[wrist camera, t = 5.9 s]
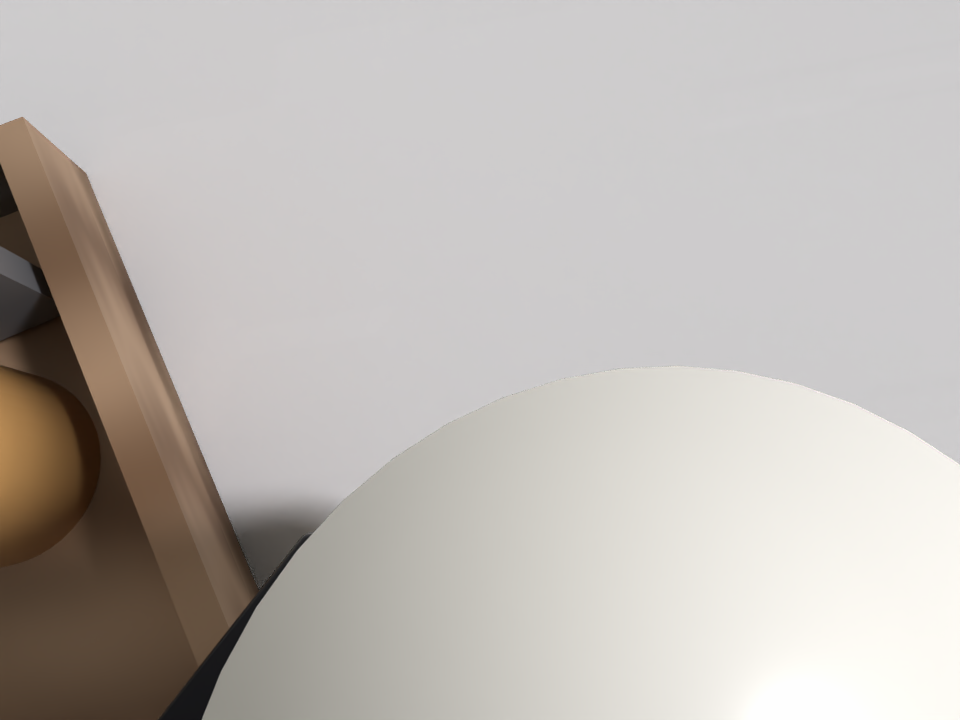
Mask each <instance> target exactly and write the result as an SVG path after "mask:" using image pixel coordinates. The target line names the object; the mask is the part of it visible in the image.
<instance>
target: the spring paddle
mask: <svg viewBox="0 0 960 720" xmlns="http://www.w3.org/2000/svg"><path fill="white" fill-rule="evenodd" d="M58 316H60V314H59V311H58V309H57V306H56V304H55V301H54V299H53V296H52V293H51V291H50V288H49V286H48V283H47V281H46V278H45V276H44V273H43V271H42V269H41V268H39V267H37V266H35V265H33V264H32V263H30V262H28V261H26V260H24V259H23V258H21V257H19V256H17V255H15V254H14V253H12V252H10V251H8V250H6V249H5V248H3V247H1V246H0V341H1V340H4V339H6V338H8V337H11V336H13V335H16V334H18V333H20V332H23V331H25V330H27V329H30V328H32V327H35V326H37V325H39V324H42V323H44V322H46V321H49V320H51V319H54V318H56V317H58Z"/></svg>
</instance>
